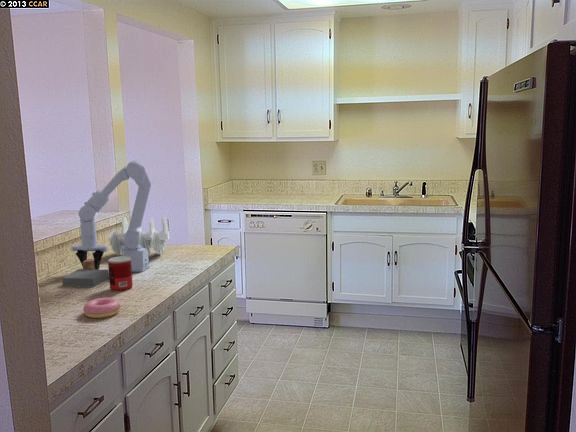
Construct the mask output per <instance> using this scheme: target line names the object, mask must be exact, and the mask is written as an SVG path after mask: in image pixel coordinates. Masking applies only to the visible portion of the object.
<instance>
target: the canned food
mask: <svg viewBox="0 0 576 432" xmlns="http://www.w3.org/2000/svg"><path fill="white" fill-rule="evenodd" d="M107 266H108V267H107V268H108V269H107V270H108V275H109V277H108V279H109V288H110V290H111V291H112V292H125V291H129V290H131V289H132V288H133V285H134V283H133V272H132V265H131V258H130V257H127V256H122V255H121V256H120V255H119V256H114V257H110V258H109V259H108V260H107Z"/></svg>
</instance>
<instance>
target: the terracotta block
mask: <svg viewBox="0 0 576 432" xmlns="http://www.w3.org/2000/svg"><path fill="white" fill-rule="evenodd" d="M82 269H91V270H100V268H99V269H95V262H94V258H87V260H85V261H83V267H82Z"/></svg>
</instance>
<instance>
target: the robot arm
mask: <svg viewBox="0 0 576 432" xmlns="http://www.w3.org/2000/svg"><path fill="white" fill-rule="evenodd" d="M130 179H132V180H133V181H134V182H135V184H136V185H137V187H138V188H137V191H136V192H137V193H136V196H135V200H134V205H133V208H132V212H131V215H130V216H131V217H130V220H129V223H128V231H127V232H126V233H125V235H124V239H123V244H124V247H123V253H122V255H123V256H127V257H130V258H131V265H132V273H133V272H141V273H143V272H144V271H146V270H147V269H148V268H150V267H151V266H150V262H149V261H150V260H149V254H148V250H147V249H146V248H141V245H140V244H139V243H140V240H139V239H140V236H139V232H140V227H142V223H143V222H142V221H143V218H144V214H145V212H146V211H145V210H146V207H147V204H148V203H147V202H148V198H149V194H150V191H151V190H150V189H151V187H152V183H151V180H150V178H149V175H148V173H147V170H146V168H145V167H144V166H143V164H142V163H141V162H140V161H138V160H131V161H130V162H128V164H126V165H125V166H124V167H122V168H121V169H120V170H119V171H118V172H117V173H116V174H114V176H113V177H112V179H110V181H109V182H108V183H107V184H106V186H104V188H103V189H100V190H99V189H98V190H96V191H93V192H92V194H91V195H92V196H91V197H90V198H88V200H87V201H85V202H84V203H83V204H84V205H83V206H82V207H80V208H79V211H78V217H79V219H80V220H79V223H80V225H79V227H80V240H81V241H80V242H81V244H80V245H77V244H76V245H72V246H70V247H71V252H76V253H75V255H76V257H77V258H78V260H79V261H80V264H81V266H82V268H83V261H85V260H87V259H88V252H92V257H93V259H94V262H95V269H99V270H100V265H101V261H102V258H103V255H104V253H106V252H108V251H109V246H108V245H101V244H98V240H97V239H98V238H97V236H98V235H97V226H96V225H97V224H96V219H95V216H96V214H97V213H99V212H100V211H101V209H102V208H103V207H104V206H105V205H106V204H107V203H108V202H109V200H110V197H109V196H110V195H111V193H112V192H113V191H114V190H115V189H117V187H118V186H119V185H120V184H121V183H122V182H125V181H127V180H130Z"/></svg>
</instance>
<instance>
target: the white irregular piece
mask: <svg viewBox="0 0 576 432" xmlns="http://www.w3.org/2000/svg"><path fill="white" fill-rule="evenodd" d="M155 226H156V225H155V220H154V217H150V219H149V231H143V227H142V226H141V227H140V232H139V236H140V239H139V240H140V243H139V244H140V245H141V248H146V249H147V250H148V255H149V254H150V253H152V247H153V250H154V252H155V253H156V254H157V255H159V256H160V255H161V256H162V253H165V246H166V245H167V241H168V240H170V232H169V229H170V228H169V226H168V220H167V217H166V216H165V217H163V219H162V226H163V230H158V231H157V230H156V227H155ZM128 228H129V221H128V220H127V217H126V216H125V217H123V218H122V221H121V233H116V229H115V228H113V229H112V231H111V233H110V235H109V237H108V241H109V244H110V246H111V249H112V251H113V253H114V254H115V255H119V256H122V255H123V247H124V244H123V239H124V235H125V233H126V232H127V231H128Z"/></svg>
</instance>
